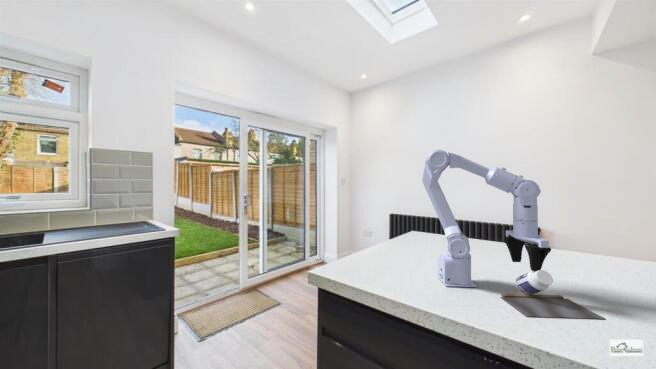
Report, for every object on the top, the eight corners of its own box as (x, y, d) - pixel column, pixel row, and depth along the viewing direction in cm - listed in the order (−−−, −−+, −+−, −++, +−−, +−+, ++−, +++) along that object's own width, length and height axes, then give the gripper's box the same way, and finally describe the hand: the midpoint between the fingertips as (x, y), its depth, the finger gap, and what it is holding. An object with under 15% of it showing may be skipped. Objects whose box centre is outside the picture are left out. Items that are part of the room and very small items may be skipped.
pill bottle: (537, 296, 72) (559, 289, 65) (517, 293, 72) (537, 286, 65) (531, 277, 75) (552, 269, 68) (512, 275, 75) (531, 266, 68)
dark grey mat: (526, 316, 61) (526, 314, 61) (497, 295, 72) (497, 293, 72) (605, 319, 59) (605, 316, 59) (563, 297, 71) (563, 295, 71)
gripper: (560, 224, 66) (561, 275, 66) (521, 216, 80) (522, 258, 80) (532, 224, 66) (533, 274, 66) (499, 216, 81) (499, 258, 81)
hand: (525, 266), depth 73 cm, fingers open, 7 cm apart
